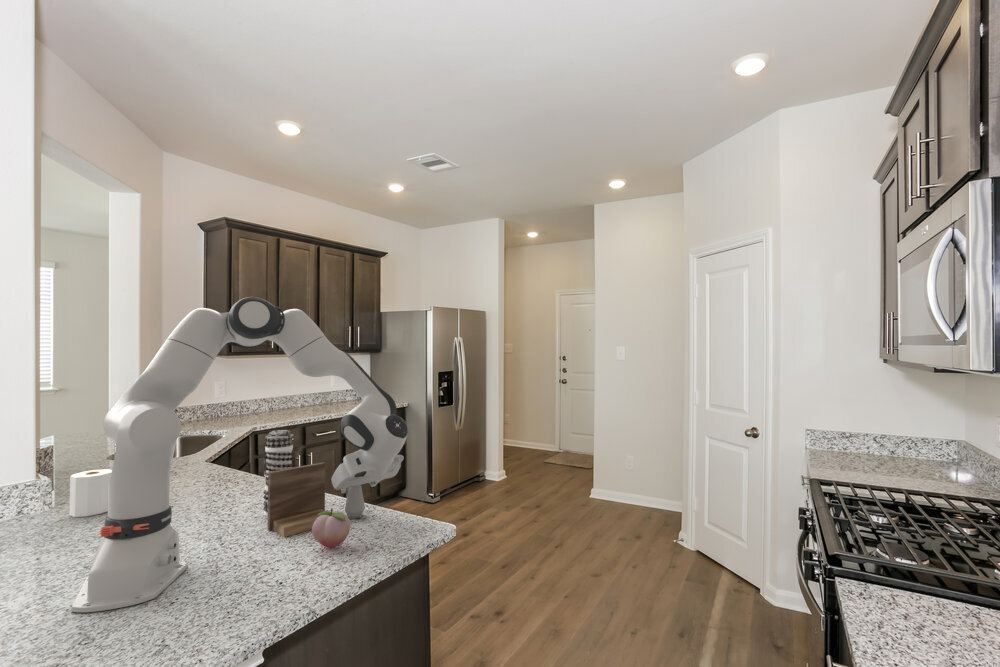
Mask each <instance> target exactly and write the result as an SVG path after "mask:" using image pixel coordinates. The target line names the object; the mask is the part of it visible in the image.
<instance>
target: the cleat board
mask: <svg viewBox="0 0 1000 667" xmlns="http://www.w3.org/2000/svg"><path fill="white" fill-rule="evenodd" d="M324 511H326V463H325V462H324V461H323V462H316V463H312V464H306V465H301V466H296V467H295V466H293V467H292V468H288V469H283V470H277V471H272V472H268V516H267V530H268V531H269V532H271V531H273V532H276V533H277V534H279V535H280V536H281V537H283V538H286V537H290V536H293V535H297V534H301V533H304V532H308V531H312V527H313V524H314V522H315V520H316V519H317V518H318V517H319V516H318V517H317V515H318V514H319V513H322V512H324Z"/></svg>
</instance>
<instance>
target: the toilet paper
mask: <svg viewBox="0 0 1000 667" xmlns="http://www.w3.org/2000/svg"><path fill="white" fill-rule="evenodd" d="M111 473H112V469H109V468H104V469H93V470H92V469H91V470H85V471H84V470H83V471H81V472H76V473H73V474H71V475H70V478H69V484H70V485H69V509H68V510H69V512H68V514H69V517H73V518H81V517H90V516H91V517H92V516H95V515H101V514H104V513H106V512H107V513H108V491H109V478H110V476H111Z"/></svg>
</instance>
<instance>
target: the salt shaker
mask: <svg viewBox="0 0 1000 667" xmlns="http://www.w3.org/2000/svg"><path fill="white" fill-rule="evenodd" d="M348 489H349V491H348V492H347V496H346V501H345V506H344V512H345V513H346V514H345V515H346V516H347V517H348V518H349V519H351V520H352V519H359V518H361V517H362V516H363V514H364V511H365V507H366V505H365V499H364V495H363V489H362V484H361V485H356V486H352V487H348Z"/></svg>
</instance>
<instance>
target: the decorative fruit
mask: <svg viewBox="0 0 1000 667" xmlns="http://www.w3.org/2000/svg"><path fill="white" fill-rule="evenodd" d="M318 516H319V517H318ZM317 517H318V518H317V519H316V520H315V522H314V524H313V527H312V529H311V533H312V536H313V537H314V539H315V541H317V543H319V544H320V545H321V546H323V547H325V548H327V549H334V548H335V547H338V546H340V545H341V544H343V543H344V541H345V540H346V539H347V537H348V535H349V533H350V528H351V521H350V518H348V516H347V514H345V513H344V512H341V511H333V508H330V511H329V510H325V511H324V512H322V513H319V514H318V515H317Z"/></svg>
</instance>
